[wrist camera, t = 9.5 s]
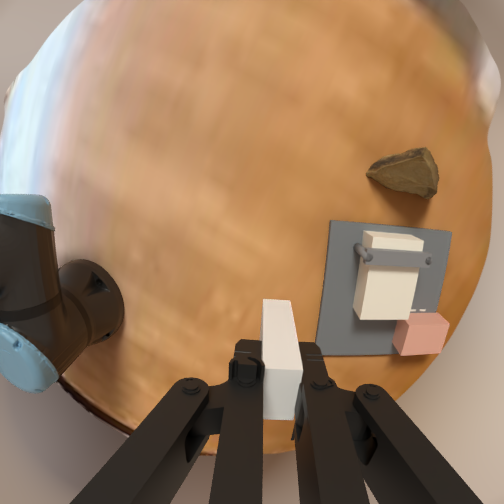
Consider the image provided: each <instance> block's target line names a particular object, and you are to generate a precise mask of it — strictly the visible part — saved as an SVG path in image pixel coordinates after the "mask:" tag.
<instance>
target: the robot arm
mask: <svg viewBox="0 0 504 504" xmlns="http://www.w3.org/2000/svg"><path fill="white" fill-rule="evenodd" d="M54 231H55V227H54V226H53V220H52V211H51V204H50V202H49V200H48V199H47V198H46V197H44V196H42V195H34V194H0V373H1V374H2V375H3V376H4V377H5V378H6V379H7V380H8V381H9V382H11V383H12V384H13V385H15V386H16V387H18V388H20V389H21V390H23V391H26V392H29V393H35V394H36V393H41V392H43V391H45V390H46V389H47V388H48V387H49V386H50V385H51V384H53V383H55V382H56V381H57V380H58V378H59V377H60V376H61V375H62V374H63V373H64V372H65V371H66V369H67V368H68V367H69V366H70V365H71V364H72V363H73V362H74V360H75V359H76V358H77V357H78V356H79V355H80V354H81V353H82V352H83V350H84V349H85V348H86V347H87V346H90V345H93V344H96V343H99V342H102V341H104V340H106V339H108V338H109V337H111V336H112V335H113V334H114V333H115V332H116V330H117V329H118V328H119V327H120V325H121V323H122V320H123V315H124V304H123V299H122V296H121V293H120V290H119V288H118V286H117V284H116V283H115V281H114V280H113V278H112V277H111V276H110V275H109V273H108V272H107V271H105V270H104V269H103V268H102V267H101V266H99V265H97V264H96V263H94V262H91V261H88V260H82V259H79V260H74V261H71V262H69V263H67V264H65V265H63V266H62V267H61V268H59V269H58V264H57V256H56V247H55V237H54ZM323 360H324V359H323V356H322V353H321V349H320V347H319V346H318V345H316V344H315V343H314V342H298V339H297V334H296V329H295V323H294V318H293V313H292V308H291V303H290V301H289V300H273V299H263V307H262V318H261V330H260V340H246V339H241V340H240V341H239V342H238V343H237V344H236V345H235V352H234V358H233V359H231V361H230V362H229V379H228V381H226V382H225V383H223V384H220V385H216V386H208V384H207V383H206V382H204V381H203V380H201V379H198V378H184V379H181V380H179V381H177V382H176V383H175V384H174V385H173V386H172V387H171V389H170V390H169V391H168V392H167V393H166V395H165V396H164V397H163V398H162V399H161V400H160V402H159V403H158V404H157V405H156V406H155V408H154V409H153V410H152V411H151V412H150V413H149V415H148V416H147V417H146V418H145V419H144V420H143V421H142V423H141V424H140V425H139V426H138V427H137V428H136V430H135V431H134V432H133V433H132V434H131V435H130V437H129V438H128V439H127V440H126V441H125V442H124V444H123V445H122V446H121V447H120V448H119V449H118V450H117V451H116V453H115V454H114V455H113V456H112V457H111V458H110V459H109V461H108V462H107V463H106V464H105V465H104V466H103V467H102V468H101V470H100V471H99V472H98V473H97V474H96V475H95V476H94V477H93V478H92V480H91V481H90V482H89V483H88V484H87V485H86V486H85V487H84V488H83V490H82V491H81V492H80V493H79V494H78V495H77V496H76V497H75V499H73V500H72V502H71V503H70V504H170V502H171V501H172V499H173V498H174V496H175V494H176V493H177V491H178V489H179V488H180V486H181V485H182V483H183V481H184V480H185V478H186V476H187V475H188V473H189V471H190V470H191V468H192V466H193V465H194V463H195V461H196V459H197V458H198V456H199V454H200V453H201V451H202V449H203V448H204V446H205V444H206V442H207V441H208V439H209V436H210V435H214V434H220V436H219V443H218V449H217V455H216V461H215V468H214V474H213V480H212V487H211V493H210V499H209V504H262V474H263V469H262V467H263V419H272V420H293V418H294V414H295V419H296V420H295V425H294V429H293V434H292V438H291V440H294V437H295V448H296V460H297V471H298V484H299V497H300V504H370V503H369V499H368V495H367V491H366V487H365V483H364V480H365V482H366V483H367V485H368V487H369V488H370V490H371V492H372V493H373V495H374V497H375V498H376V500H377V501H378V503H379V504H483V503H482V502H481V500H480V499H479V498H478V497H477V496H476V495H475V493H474V492H473V491H472V490H471V489H470V487H468V485H467V484H466V483H465V482H464V480H463V479H462V478H461V477H460V476H459V475H458V474H457V472H456V471H455V470H454V469H453V468H452V467H451V465H450V464H449V463H448V462H447V461H446V460H445V458H444V457H443V456H442V455H441V454H440V453H439V451H438V450H436V448H435V447H434V446H433V445H432V443H431V442H430V441H429V440H428V439H427V438H426V436H425V435H424V434H423V433H422V432H421V431H420V430H419V428H418V427H417V426H416V425H415V424H414V423H413V421H412V420H411V419H410V418H409V417H408V416H407V415H406V413H405V412H404V411H403V410H402V409H401V408H400V407H399V405H398V404H397V403H396V402H395V401H394V400H393V399H392V397H391V396H390V395H389V394H388V393H387V392H386V391H385V390H384V389H383V388H382V387H380V386H377V385H374V384H363V385H361V386H359V387H358V388H357V389H356V392H353V391H348V390H344V389H340V388H338V387H337V385H336V383H335V381H334V380H333V379H331V378H330V377H329V376H328V373H327V370H326V366H325V363H324V361H323ZM363 478H364V479H363Z"/></svg>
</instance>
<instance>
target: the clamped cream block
mask: <svg viewBox="0 0 504 504" xmlns="http://www.w3.org/2000/svg"><path fill="white" fill-rule="evenodd" d="M423 244H424V241H423V240H421V239H419V238H417V237H415V236H413V235H410V234H399V233H387V232H375V231H363V240H362V245H360V244H359V243H355V244H354V246H353V249H354V250H355V251H356V252H357V253H358V254H359V255H360V263H359V270H358V277H357V283H356V290H355V296H354V302H353V308H354V310H355V312H356V314H357V315H358V317H359V319H360V320H408V319H409V315H410V311H411V306H412V302H413V298H414V293H415V288H416V283H417V278H418V273H419V268H420V267H421V268H429V267H430V264H431V263H432V258H431V256H432V254H431V253H429V252H423V251H422V250H423Z"/></svg>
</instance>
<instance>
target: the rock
mask: <svg viewBox="0 0 504 504" xmlns="http://www.w3.org/2000/svg"><path fill="white" fill-rule="evenodd" d="M366 176H367V177H371V178H373V179H374V180H376V181H378V182H379V183H380V184H382V185H383V186H385V187H386V188H389V189H393V190H395V191H401V192H403V191H404V192H408V193H413V194H414V193H415V194H419V195H420V196H422V197H423V198H425V199H429V198H431V197H433V195H435V194H436V193H437V184H438V181H439V175H438V168H437V165H436V164H435V162H434V159H433V157H432V155H431V153H430V151H429V150H428V149H427V148H426V147H422V148H414V149H410V150H408V151H406V152H404V153H401V154H391V155H388V156H384V157H383V158H381V159H380V160H378V161H377V162H375V163H374V164H373V165H372V166H371V167H370V169H369V170H368V172H367V173H366Z"/></svg>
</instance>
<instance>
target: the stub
mask: <svg viewBox="0 0 504 504" xmlns="http://www.w3.org/2000/svg"><path fill="white" fill-rule="evenodd" d="M449 325H450V324H449V323H448V322H447V321H446V320H445V319H444V318H443V317H442V316H441V315H440V314H439V313H410V315H409V319H408V320H397V324H396V328H395V332H394V336H393V340H392V343H393V345H394V346H395V348H396V349H397V351H398V352H399V354H400V355H401V356H406V355H421V354H434V353H441V350H442V347H443V344H444V341H445V338H446V334H447V331H448V328H449Z"/></svg>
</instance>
